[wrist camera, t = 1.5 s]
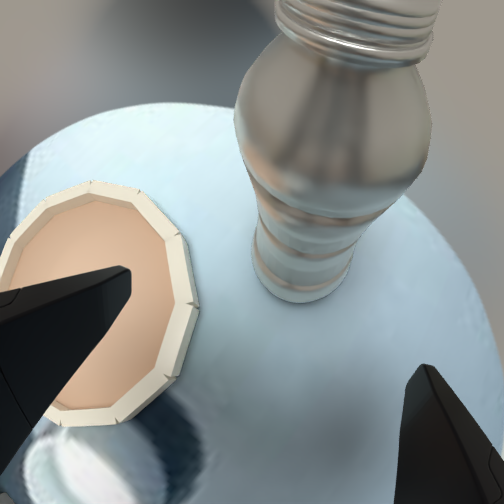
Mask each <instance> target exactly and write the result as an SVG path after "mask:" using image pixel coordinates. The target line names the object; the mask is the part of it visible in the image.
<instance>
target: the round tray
mask: <svg viewBox="0 0 504 504" xmlns="http://www.w3.org/2000/svg"><path fill="white" fill-rule="evenodd" d="M10 238H11V239H9V238H8V239H7V242H6V244H5V247H4V249H3V252H2V254H1V257H0V292H4V291H9V290H13V289H17V288H22V287H26V286H30V285H34V284H38V283H43V282H47V281H51V280H55V279H60V278H64V277H68V276H73V275H77V274H81V273H86V272H90V271H95V270H99V269H103V268H108V267H112V266H117V265H121V266H124V267H126V268H129V269H130V270H131V273H132V293H131V296H130V298H129V300H128V302H127V303H126V305H125V306H124V308H123V309H122V311H121V312H120V314H119V315H118V317H117V318H116V320H115V321H114V323H113V324H112V326H111V328H110V329H109V330H108V332H107V333H106V335H105V336H104V337H103V339H102V340H101V341H100V342H99V343H98V345H97V346H96V347H95V348H94V350H93V351H92V352H91V353H90V355H89V356H88V357H87V358H86V360H85V361H84V362H83V363H82V365H81V366H80V367H79V368H78V370H77V371H76V372H75V374H74V375H73V376H72V377H71V379H70V380H69V381H68V383H67V384H66V385H65V386H64V388H63V389H62V390H61V392H60V393H59V394H58V396H57V397H56V398H55V400H54V401H53V402H52V404H51V405H50V406H49V408H48V409H47V410H46V412H45V413H44V414H43V415H44V416H45V417H47V418H48V419H50V420H51V421H53V422H54V423H56V424H57V425H59V426H61V425H62V427H71V426H97V425H113V424H119V423H122V422H125V421H128V420H130V419H132V418H133V417H134V416H136V415H137V414H138V413H139V412H140V411H141V410H143V409H144V408H145V407H146V406H147V405H148V404H149V403H151V402H152V401H153V400H154V399H155V398H156V397H157V396H159V395H160V394H161V393H162V392H163V391H164V390H165V389H167V388H168V387H169V386H170V385H171V384H172V383H173V382H174V381H176V380H177V379H176V377H175V376H179V375H180V371H181V368H182V365H183V362H184V358H185V355H186V352H187V349H188V346H189V342H190V339H191V336H192V333H193V330H194V327H195V324H196V320H197V317H198V314H199V310H198V309H196V308H198V307H200V306H199V301H198V296H197V292H196V287H195V282H194V276H193V271H192V266H191V261H190V255H189V250H188V245H187V243H186V241H185V239H184V238H183V236H182V235H181V233H180V231H179V230H178V229H177V228H176V227H175V226H174V225H173V224H172V223H171V222H170V221H169V219H168V218H167V217H166V216H165V215H164V214H163V213H162V212H161V211H160V210H159V209H158V208H157V206H156V205H155V204H154V203H153V202H152V201H151V200H150V199H149V198H148V197H147V195H146V194H145V193H144V192H143V191H140V189H136V188H131V187H126V186H121V185H116V184H111V183H106V182H101V181H96V180H93V181H92V182H91V181H87V182H84V183H81V184H79V185H76V186H73V187H71V188H68V189H66V190H63V191H61V192H58V193H55V194H53V195H51V196H48V197H46V201H45V200H44V199H43V200H42V201H41V202H40V203H39V204H38V205H37V206H36V207H35V208H34V209H33V210H32V211H31V213H30V214H29V215H28V216H27V217H26V218H25V219H24V220H23V221H22V222H21V223H20V224H19V226H18V227H17V228H16V229H15V230H14V231H13V232H12V233H11V235H10Z"/></svg>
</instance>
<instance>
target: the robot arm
mask: <svg viewBox="0 0 504 504" xmlns="http://www.w3.org/2000/svg"><path fill="white" fill-rule="evenodd" d="M131 293H132V273H131V270H130V269H129V268H126V267H124V266H121V265H117V266H112V267H108V268H103V269H99V270H95V271H90V272H86V273H81V274H77V275H73V276H68V277H64V278H60V279H55V280H51V281H47V282H43V283H38V284H34V285H30V286H26V287H22V288H17V289H13V290H9V291H4V292H0V475H1V474H2V473H3V471H4V470H5V468H6V467H7V466H8V464H9V463H10V461H11V460H12V458H13V457H14V455H15V454H16V452H17V451H18V450H19V448H20V447H21V445H22V444H23V442H24V441H25V440H26V438H27V437H28V435H29V434H30V433H31V431H32V428H34V427H35V425H36V424H37V423H38V421H39V420H40V418H41V417H42V416H43V414H44V413H45V412H46V410H47V409H48V408H49V406H50V405H51V404H52V402H53V401H54V400H55V398H56V397H57V396H58V394H59V393H60V392H61V390H62V389H63V388H64V386H65V385H66V384H67V383H68V381H69V380H70V379H71V377H72V376H73V375H74V374H75V372H76V371H77V370H78V368H79V367H80V366H81V365H82V363H83V362H84V361H85V360H86V358H87V357H88V356H89V355H90V353H91V352H92V351H93V350H94V348H95V347H96V346H97V345H98V343H99V342H100V341H101V340H102V339H103V337H104V336H105V335H106V333H107V332H108V330H109V329H110V328H111V326H112V324H113V323H114V321H115V320H116V318H117V317H118V315H119V314H120V312H121V311H122V309H123V308H124V306H125V305H126V303H127V302H128V300H129V298H130V296H131ZM394 504H504V461H503V459H502V458H501V456H500V455H499V454H498V452H497V451H496V449H495V448H494V446H492V443H491V442H490V441H489V439H488V438H487V436H486V435H485V433H484V432H483V431H482V429H481V428H480V426H479V425H478V424H477V422H476V421H475V420H474V418H473V417H472V415H471V414H470V413H469V411H468V410H467V409H466V407H465V406H464V405H463V403H462V402H461V401H460V399H459V398H458V397H457V395H456V394H455V393H454V391H453V390H452V389H451V387H450V386H449V385H448V384H447V382H446V381H445V380H444V378H443V377H442V376H441V375H440V373H439V372H438V371H437V369H436V368H435V367H434V366H432V365H428V364H421V365H420V366H419V367H418V368H417V370H416V371H415V373H414V374H413V375H412V377H411V378H410V380H409V381H408V383H407V385H406V389H405V397H404V405H403V413H402V420H401V427H400V436H399V453H398V466H397V478H396V487H395V496H394Z"/></svg>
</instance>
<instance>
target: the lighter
mask: <svg viewBox="0 0 504 504" xmlns="http://www.w3.org/2000/svg"><path fill="white" fill-rule="evenodd" d="M0 504H15V503H14V502H13V500H12V499H11V498H10V497H9V496H8V494H7V493H2V494H0Z"/></svg>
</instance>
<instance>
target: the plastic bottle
mask: <svg viewBox="0 0 504 504" xmlns="http://www.w3.org/2000/svg"><path fill="white" fill-rule="evenodd" d="M441 3H442V0H275V21H276V23H277V25H278V27H279V28H280V29H281V30H282V31H283V32H281V33H280V34H279V35H278V36H277V37H276V38H275V39H274V40H273V41H272V42H271V43H270V44H269V45H268V46H267V47H266V48H265V49H264V50H263V52H262V53H261V54H260V55H259V57H258V58H257V59H256V61H255V62H254V63H253V65H252V66H251V67H250V69H249V70H248V71H247V72H246V74H245V76H244V79H243V81H242V83H241V86H240V90H239V93H238V97H237V100H236V104H235V110H234V126H235V132H236V137H237V141H238V145H239V149H240V153H241V155H242V158H243V161H244V164H245V166H246V169H247V172H248V174H249V177H250V180H251V183H252V185H253V188H254V191H255V194H256V200H257V206H258V212H259V213H258V223H257V226H256V228H255V232H254V236H253V241H252V245H251V258H252V264H253V267H254V270H255V272H256V275H257V276H258V278H259V280H260V281H261V283H262V284H263V285H264V286H265V287H266V288H267V289H268V290H269V291H270V292H271V293H272V294H274V295H275V296H277V297H278V298H281V299H283V300H285V301H289V302H294V303H306V302H311V301H315V300H318V299H320V298H323V297H325V296H327V295H328V294H330V293H331V292H333V291H334V290H335V289H336V288H337V287H338V286H339V285H340V284H341V283H342V281H343V280H344V278H345V276H346V274H347V272H348V269H349V266H350V263H351V260H352V257H353V251H354V248H355V246H356V244H357V241H358V239H359V238H360V237H361V236H362V234H363V233H364V232H365V231H366V229H367V228H368V227H369V226H370V224H371V223H372V222H374V221H375V220H376V219H377V218H378V217H379V216H380V215H381V214H383V213H384V212H385V211H386V210H387V209H388V208H389V207H390V206H391V205H392V204H394V203H395V202H396V201H397V200H398V199H399V198H400V197H401V196H402V195H403V194H404V193H405V191H406V190H407V189H408V188H409V187H410V186H411V184H412V183H413V182H414V181H415V179H416V178H417V177H418V176H419V174H420V173H421V172H422V169H423V167H424V165H425V162H426V160H427V156H428V150H429V144H430V138H431V128H432V121H431V115H430V109H429V105H428V100H427V96H426V92H425V88H424V85H423V82H422V80H421V77H420V75H419V72H418V70H417V67H416V65H415V64H418V63H420V62H421V61H422V60H424V59H425V57H426V56H427V53H428V52H429V49H430V46H431V44H432V41H433V31H432V29H433V26H434V23H435V20H436V18H437V15H438V12H439V9H440V6H441Z"/></svg>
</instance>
